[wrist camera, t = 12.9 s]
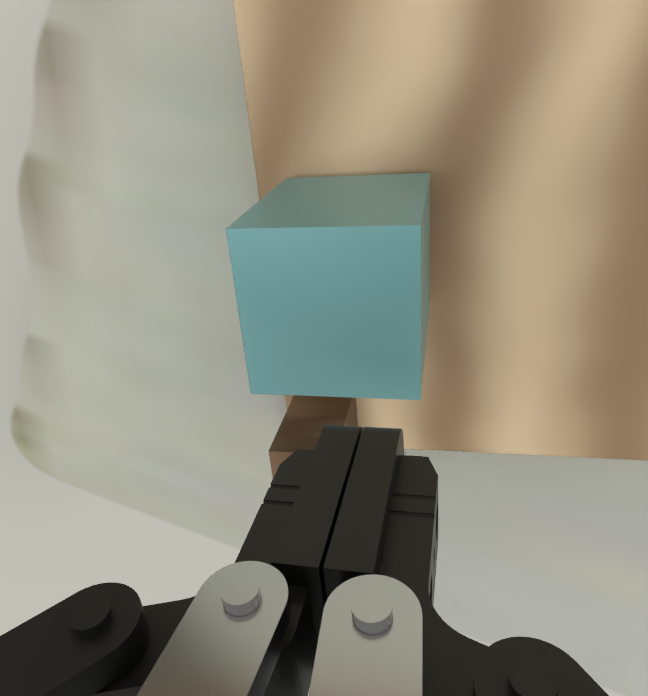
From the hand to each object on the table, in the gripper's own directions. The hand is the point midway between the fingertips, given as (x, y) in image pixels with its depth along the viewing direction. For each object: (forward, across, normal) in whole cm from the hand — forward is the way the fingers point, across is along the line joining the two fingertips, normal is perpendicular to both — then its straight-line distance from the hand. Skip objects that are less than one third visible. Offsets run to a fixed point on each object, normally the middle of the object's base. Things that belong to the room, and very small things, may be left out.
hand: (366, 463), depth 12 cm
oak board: (+14, -2, -3) cm, 14 cm away
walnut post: (+14, +4, +7) cm, 16 cm away
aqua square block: (+12, +2, -1) cm, 12 cm away
